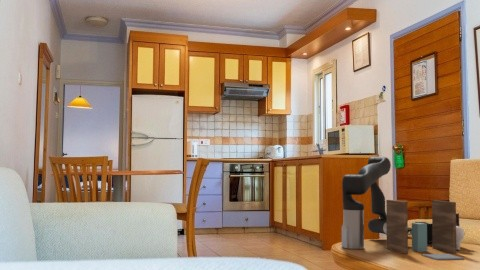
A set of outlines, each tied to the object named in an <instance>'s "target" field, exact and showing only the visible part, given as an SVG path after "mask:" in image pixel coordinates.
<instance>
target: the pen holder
mask: <svg viewBox="0 0 480 270" xmlns="http://www.w3.org/2000/svg"><path fill="white" fill-rule="evenodd" d="M414 223H424V224H427V245H433V244H432V223H428V222H426V221H415V222H414Z"/></svg>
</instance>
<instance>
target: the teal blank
mask: <svg viewBox="0 0 480 270" xmlns="http://www.w3.org/2000/svg"><path fill="white" fill-rule="evenodd" d="M411 228H412V235H411V250H412V251H414V252H418V253H419V252H428V244H427V224H424V223H415V222H411Z"/></svg>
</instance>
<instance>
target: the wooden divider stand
mask: <svg viewBox="0 0 480 270" xmlns="http://www.w3.org/2000/svg"><path fill="white" fill-rule="evenodd" d="M431 208H432V209H431V213H432V214H431V215H432V216H431V217H432V218H431V219H432V221H431V224H432V244H431V245H432V249H435V250H439V251H442V252H445V253H446V252H447V253H449V254H450V253H451V254H457V250H456V213H457V202H455V201H447V200H445V201H443V200H437V199H435V200H431ZM385 211H386V215H387V235H386V249H387V250H390V251H392V252H393V251H394V252H397V253H400V254H403V255H409V251H408V250H409V247H408V246H409V243H408V242H409V241H408V239H409V235H408V234H409V233H408V221H409V220H408V217H409V216H408V213H409V212H408V201H403V200H394V199H385Z"/></svg>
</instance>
